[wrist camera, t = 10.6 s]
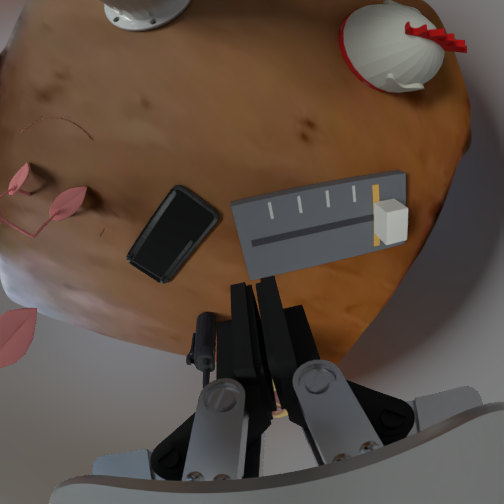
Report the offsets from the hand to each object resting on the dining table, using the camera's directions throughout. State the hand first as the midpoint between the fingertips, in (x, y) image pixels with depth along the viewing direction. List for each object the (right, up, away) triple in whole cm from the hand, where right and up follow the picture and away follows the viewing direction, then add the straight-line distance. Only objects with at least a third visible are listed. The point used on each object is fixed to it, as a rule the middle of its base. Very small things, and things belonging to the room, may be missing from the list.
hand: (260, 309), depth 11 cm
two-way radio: (-9, -10, +38) cm, 40 cm away
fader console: (+11, +7, +30) cm, 33 cm away
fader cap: (+19, +8, +28) cm, 35 cm away
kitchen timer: (+18, +31, +18) cm, 40 cm away
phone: (-12, +5, +30) cm, 33 cm away
